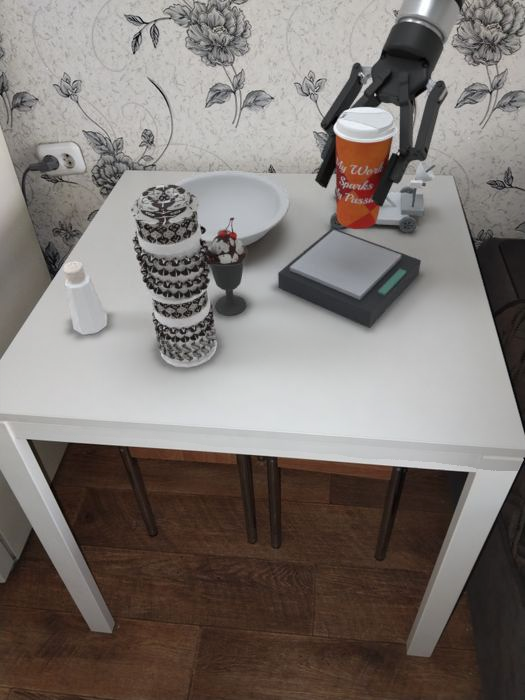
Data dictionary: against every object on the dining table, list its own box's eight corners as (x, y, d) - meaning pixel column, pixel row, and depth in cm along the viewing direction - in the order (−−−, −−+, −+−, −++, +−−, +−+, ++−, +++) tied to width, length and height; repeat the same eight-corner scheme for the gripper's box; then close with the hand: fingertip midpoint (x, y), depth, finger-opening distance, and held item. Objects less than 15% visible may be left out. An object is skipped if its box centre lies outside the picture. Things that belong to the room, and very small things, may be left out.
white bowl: (289, 199, 116) (289, 168, 112) (290, 272, 99) (289, 239, 95) (169, 201, 117) (163, 171, 113) (148, 274, 100) (141, 241, 96)
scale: (418, 275, 98) (421, 256, 95) (369, 327, 89) (371, 308, 86) (331, 242, 105) (332, 223, 103) (278, 287, 96) (278, 268, 94)
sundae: (253, 292, 96) (248, 211, 85) (249, 319, 91) (243, 237, 80) (213, 291, 96) (203, 210, 86) (206, 318, 91) (195, 236, 81)
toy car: (436, 153, 107) (439, 184, 99) (427, 201, 114) (430, 234, 106) (337, 149, 110) (332, 179, 102) (334, 196, 117) (329, 228, 108)
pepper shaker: (68, 320, 92) (48, 262, 85) (101, 308, 94) (84, 250, 87) (79, 340, 89) (59, 282, 81) (113, 327, 91) (97, 269, 83)
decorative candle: (159, 328, 90) (127, 178, 73) (219, 324, 90) (201, 173, 73) (154, 371, 84) (118, 217, 66) (219, 366, 84) (200, 212, 66)
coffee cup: (321, 227, 86) (325, 126, 75) (338, 199, 91) (344, 102, 81) (378, 238, 83) (390, 135, 73) (391, 209, 89) (405, 109, 78)
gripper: (498, 64, 78) (423, 224, 80) (359, 38, 87) (296, 181, 90) (492, 31, 71) (411, 207, 73) (342, 7, 81) (274, 163, 83)
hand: (348, 193), depth 81 cm, fingers closed on coffee cup, 8 cm apart
